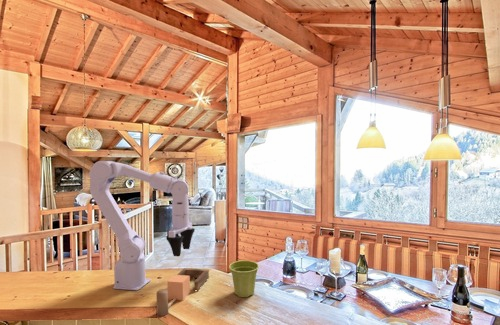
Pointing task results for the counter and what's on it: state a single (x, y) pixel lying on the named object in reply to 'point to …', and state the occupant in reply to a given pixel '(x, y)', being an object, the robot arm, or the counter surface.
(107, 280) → the counter surface
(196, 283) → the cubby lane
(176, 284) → the tethered block
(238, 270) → the plant pot
